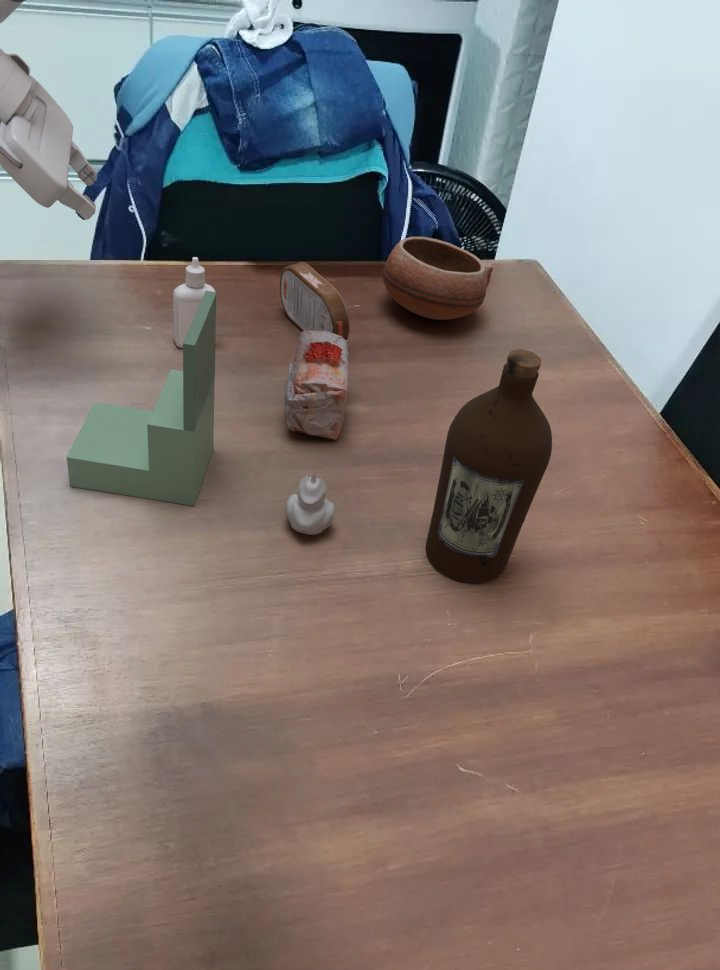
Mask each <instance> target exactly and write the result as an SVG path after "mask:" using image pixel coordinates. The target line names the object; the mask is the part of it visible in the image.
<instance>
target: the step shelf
mask: <svg viewBox="0 0 720 970" xmlns="http://www.w3.org/2000/svg"><path fill="white" fill-rule="evenodd" d="M217 295H218V293H217V291H215V292H211V291H205V293H204V295H203V298H202V300H201V302H200V305H199V307H198V309H197V312H196V314H195V316H194V319H193V321H192V323H191V326H190V328H189V330H188V333H187V335H186V337H185V340H184V342H183V348H182V370H179V369H173V368H170V370H169V372H168V375H167V376H166V379H165V382H164V384H163V385H162V389H161V391H160V394H159V396H158V398H157V400H156V403H155V405H154V407H153V410H147V409H140V408H134V407H128V406H124V405H116V404H110V403H103V402H98V401H94V403H93V405H92V407H91V409H90V411H89V413H88V415H87V417H86V418H85V420H84V423H83V424H82V426H81V428H80V430H79V432H78V434H77V436H76V438H75V440H74V442H73V444H72V445H71V448H70V450H69V451H68V454H67V455H66V464H67V472H68V480H69V486H70V487H72V488H73V487H74V488H79V489H87V490H91V491H98V492H105V493H111V494H117V495H122V496H128V497H129V496H130V497H134V498H135V497H136V498H141V499H147V500H154V501H155V500H156V501H160V502H166V503H174V504H179V505H185V506H191V507H195V506H196V503H197V500H198V497H199V493H200V490H201V487H202V485H203V481H204V478H205V475H206V472H207V468H208V467H209V464H210V460H211V457H212V455H213V451H214V437H215V435H214V431H215V429H214V428H215V390H216V389H215V386H216V385H215V384H216V343H217V324H216V299H217V300H218V296H217Z"/></svg>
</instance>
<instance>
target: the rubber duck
mask: <svg viewBox="0 0 720 970" xmlns="http://www.w3.org/2000/svg"><path fill="white" fill-rule="evenodd" d="M297 488H298V489H297V494H296V493H294V494H291V495H289V497H288V499H287V502H286V503H285V515H286V518H287V520H288V521H289V523H290V527H291V528H292V529H293V530H294V531H296V532H298V533H301V534H303V535H308V536H310V535H311V536H315V535H319V534H321V533H322V532H323V531H324V530H326V529H327V528H329V527H330V526H331V525H332V523H333V520H334V517H335V514H336V507H335V505H334V503H332V501H329V500H328V499H327V498H326V497H327V493H328V492H327V491H328V486H327V484H326V482H325V481H324V480H323V479H322V477H320V478H318V477H316V474H315V472H313V473H312V474H311V476H309V475H308V474H306V475H305V476H304V477H303V478H302V479H301V480H300V481H299V484H298V487H297Z"/></svg>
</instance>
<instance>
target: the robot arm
mask: <svg viewBox="0 0 720 970" xmlns="http://www.w3.org/2000/svg"><path fill="white" fill-rule="evenodd" d="M24 2H27V0H0V24H2V23H3V22H5V21H6V19H8V18H9V17H10V16H11V15H12V14H13V13H14V12H15V11H16V10H17V9H18V8H19V7H20V6H21V5H22V4H23V3H24ZM30 74H31V67H30V65H28V63H27V62H26V61H25V60H24V59H23V58H22V57H21V56H20V55H19V54H17V53H6V52H5V51H4V50H3V49H2V48H1V47H0V166H1V168H2V169H3V170H4V171H5V172H6V173H7V175H9V176H10V177H11V179H12V180H14V182H16V184H17V185H18V186H19V187H20V188H21V189H22V190H23V191H24V192H25V193H26V194H27V195H28V196H29V197H30V198H31V199H32V200H33V201H34V202H35V203H37V204H38V205H40V206H42V207H44V208H46V209H49V208H51V207H52V206H53V205H54V204H55V203H56V202H57V201H58V202H59V203H60V204H62V205H64V206H65V207H68V208H69V209H71V210H73V211H74V212H76V213H77V214H78V215H79V216H80V217H82V218H83V219H84V220H86V221H87V220H90V219H91V218H92V217H93V216H94V215H95V214H96V210H97V209H96V208H97V207H96V203H95V202H94V201H93V200H91V198H90V197H89V196H88V195H87V194H84V195H83V194H82V193H81V192H79V190H77V189H75V186H74V184H73V183H72V182H71V181H70V180H68V179H69V171H70V167H71V168H72V169H73V170H74V172H75V173H76V174H77V178H78V179H80V181H82V182H83V184H84V185H86V187H87V186H88V187H91V186H93V184H94V183H95V182H97V180H98V171H97V169H96V168H95V167H93V165H92V164H91V163H90V162H89V161H88V159H87V158H86V156H85V155H84V154H83V152H82V150H81V149H80V147H79V145H77V144H76V143H75V142H74V141H73V133H74V124H73V123H72V120H71V119H70V118H69V116H68V115H67V113H66V112H65V110H64V109H63V108H62V107H61V106H60V105H59V104H58V103H57V101H56V100H55V99H54V98H53V96H52V95H51V94H50V93H49V92H48V91H47V90H46V89H45V88H44V86H43V85H42V84H41V83H40V82H39V81H38V80H37V79H36V78H35V77H33V76H32V75H30Z"/></svg>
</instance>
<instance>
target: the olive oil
mask: <svg viewBox="0 0 720 970" xmlns="http://www.w3.org/2000/svg"><path fill="white" fill-rule="evenodd" d="M541 365H542V359H541V357H540V356H539V355H538V354H537V353H535V352H533V351H530V350H528V349H521V348H519V349H518V348H517V349H516V348H515V349H512V350H511V351H509V352H508V354H507V357H506V363H505V364H504V365H503V368H502V371H501V375H500V381H499V384H498V385H497V386H496V387H493V388H492V389H489V390H488V391H485V392H484V393H481V394H479V395H477V396H475V397H473V398H472V399H470V400H468V401H467V402H466V403H464V405H462V407H461V408H460V409H459V410H458V412H457V413H456V415H455V416H454V418H453V420H452V421H451V423H450V425H449V427H448V431H447V435H446V438H445V444H444V451H443V456H442V462H441V467H440V473H439V479H438V483H437V489H436V494H435V498H434V505H433V510H432V513H431V518H430V524H429V527H428V533H427V537H426V542H425V553H426V556H427V559H428V561H429V562H430V564H431V565H432V566H433V567H434V568H435V569H436V570H437V571H438V572H439V573H441V574H443V575H444V576H446V577H448V578H450V579H453V580H455V581H459V582H463V583H469V584H480V583H486V582H490V581H493V580H495V579H497V578H498V577H499V576H501V575H502V574H503V572H504V571H505V570H506V567H507V565H508V562H509V560H510V558H511V555H512V553H513V550H514V548H515V546H516V542H517V540H518V538H519V534H520V533H521V529H522V527H523V525H524V522H525V521H526V518H527V515H528V512H529V511H530V508H531V505H532V503H533V501H534V499H535V496H536V494H537V492H538V489H539V486H540V484H541V482H542V480H543V477H544V475H545V472H546V470H547V468H548V465H549V463H550V460H551V457H552V453H553V452H552V451H553V433H552V428H551V425H550V423H549V420H548V418H547V416H546V415H545V413H544V412H543V411H542V409H541V407H540V405H539V404H538V402H537V401H536V399H535V398H534V396H533V392H534V390H535V387H536V385H537V382H538V378H539V376H540V374H539V370H540V368H541Z"/></svg>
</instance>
